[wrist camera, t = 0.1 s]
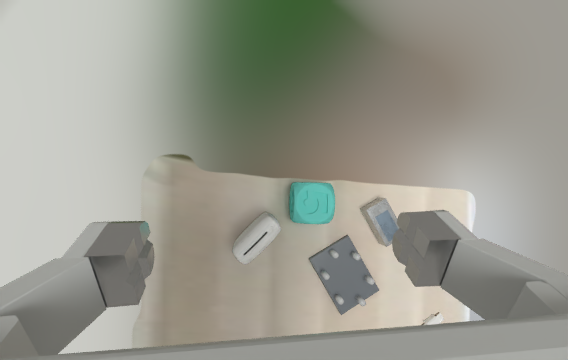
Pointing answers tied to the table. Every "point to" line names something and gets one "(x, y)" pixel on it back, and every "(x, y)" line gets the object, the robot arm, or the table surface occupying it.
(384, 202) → the block
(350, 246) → the peg board
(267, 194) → the table surface
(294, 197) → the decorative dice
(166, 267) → the table surface
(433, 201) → the table surface
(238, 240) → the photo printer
